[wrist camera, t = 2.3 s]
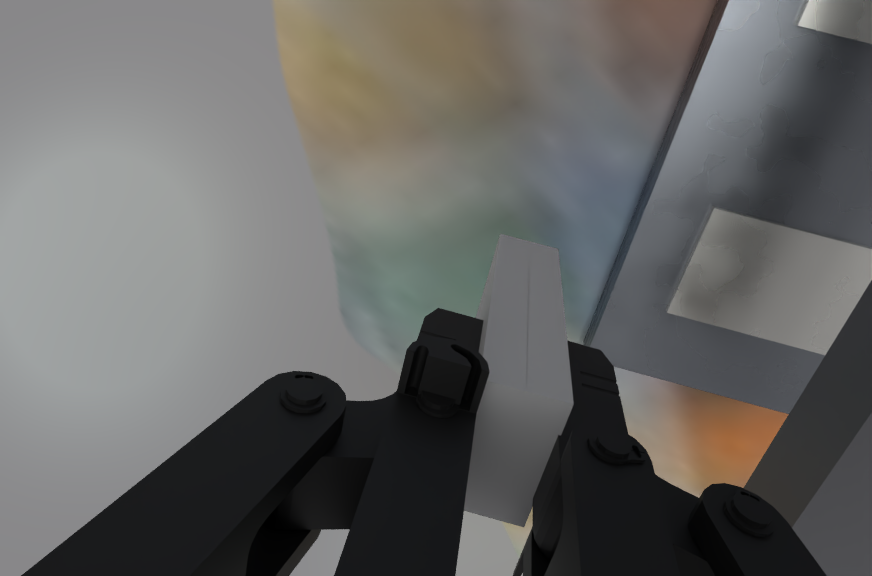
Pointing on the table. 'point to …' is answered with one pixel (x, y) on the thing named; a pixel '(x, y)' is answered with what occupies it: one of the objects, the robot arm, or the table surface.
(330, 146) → the table surface
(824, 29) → the label panel
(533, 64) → the table surface
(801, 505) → the cable arm
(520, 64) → the table surface
